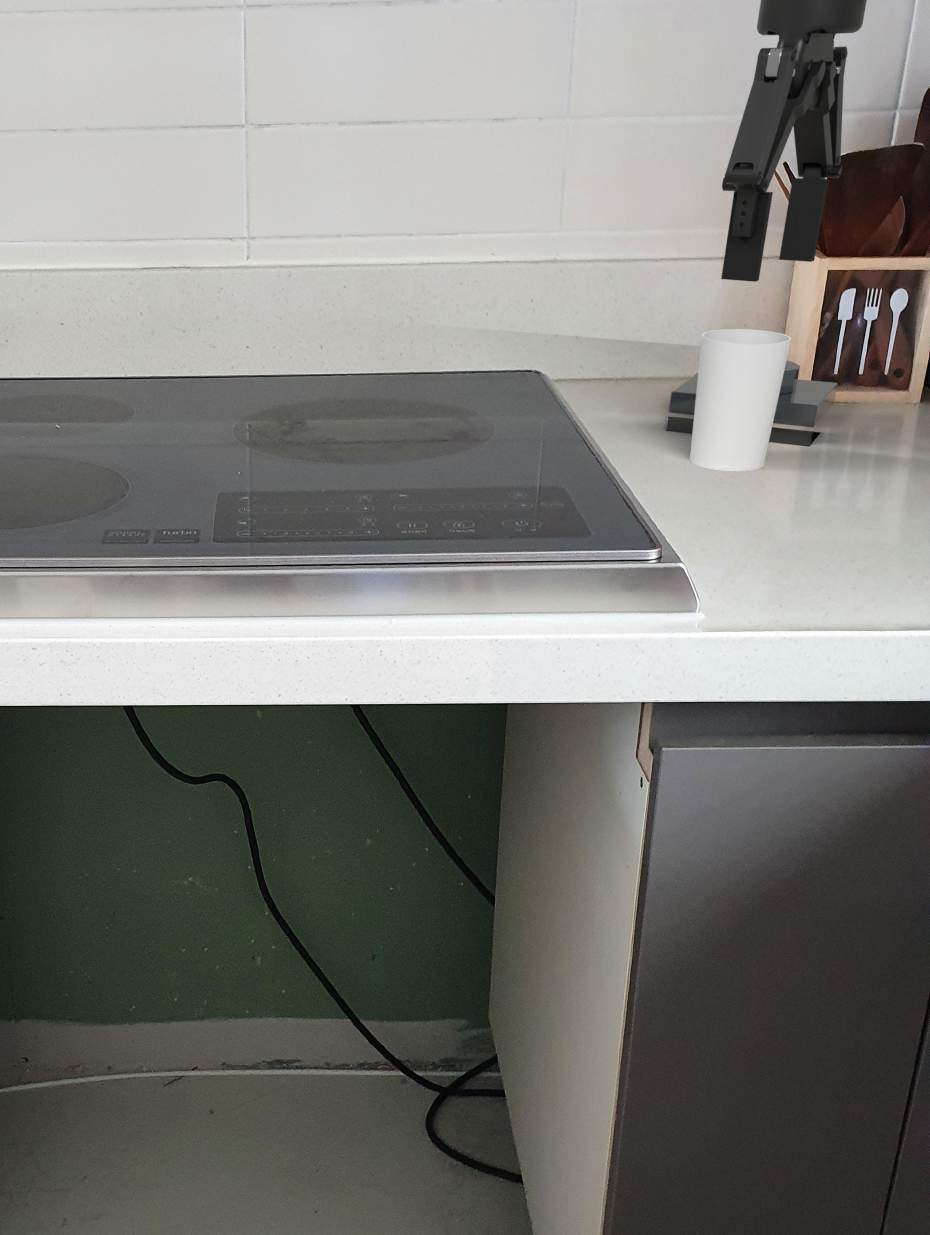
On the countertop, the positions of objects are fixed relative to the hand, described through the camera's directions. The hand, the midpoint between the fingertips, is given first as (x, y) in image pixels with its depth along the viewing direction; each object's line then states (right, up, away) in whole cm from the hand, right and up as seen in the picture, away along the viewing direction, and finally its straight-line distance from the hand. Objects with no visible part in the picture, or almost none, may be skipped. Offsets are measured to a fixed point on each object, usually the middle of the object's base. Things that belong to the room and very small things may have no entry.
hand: (769, 270), depth 111 cm
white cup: (-4, -16, -1) cm, 17 cm away
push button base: (+2, -11, +9) cm, 14 cm away
